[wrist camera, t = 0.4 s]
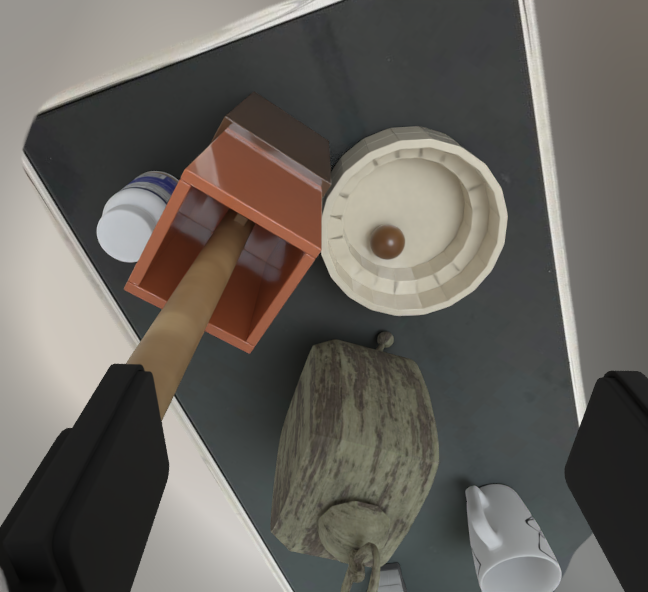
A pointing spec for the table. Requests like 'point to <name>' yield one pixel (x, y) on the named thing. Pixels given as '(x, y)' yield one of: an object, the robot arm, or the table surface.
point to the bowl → (412, 221)
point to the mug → (508, 543)
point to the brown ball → (387, 242)
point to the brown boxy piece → (253, 203)
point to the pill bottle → (134, 215)
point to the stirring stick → (191, 308)
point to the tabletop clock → (354, 457)
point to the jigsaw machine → (391, 579)
